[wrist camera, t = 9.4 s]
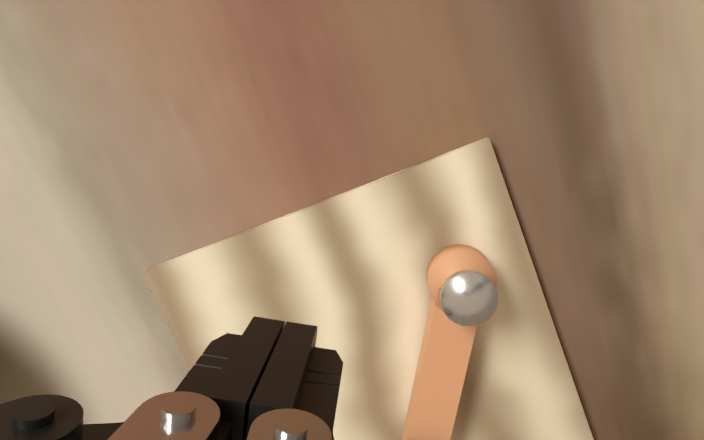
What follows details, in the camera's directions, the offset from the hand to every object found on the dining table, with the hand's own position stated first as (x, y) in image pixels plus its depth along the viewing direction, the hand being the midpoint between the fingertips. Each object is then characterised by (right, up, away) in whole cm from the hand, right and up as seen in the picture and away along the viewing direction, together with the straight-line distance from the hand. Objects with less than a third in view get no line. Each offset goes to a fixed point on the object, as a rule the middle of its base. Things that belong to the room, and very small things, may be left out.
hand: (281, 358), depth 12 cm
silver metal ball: (+9, -1, +22) cm, 23 cm away
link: (+8, -7, +25) cm, 27 cm away
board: (+4, -9, +27) cm, 29 cm away
